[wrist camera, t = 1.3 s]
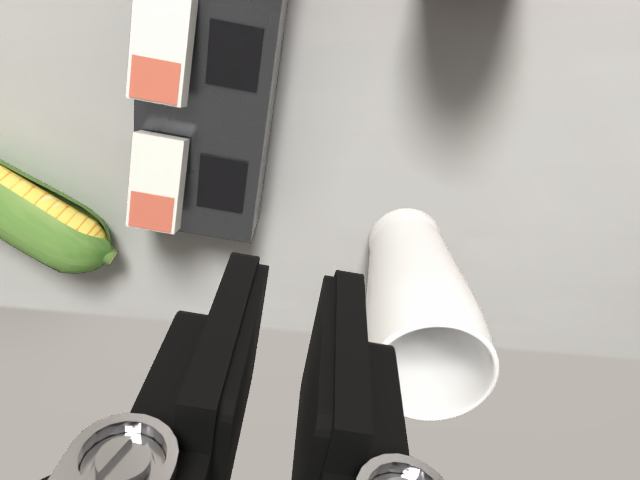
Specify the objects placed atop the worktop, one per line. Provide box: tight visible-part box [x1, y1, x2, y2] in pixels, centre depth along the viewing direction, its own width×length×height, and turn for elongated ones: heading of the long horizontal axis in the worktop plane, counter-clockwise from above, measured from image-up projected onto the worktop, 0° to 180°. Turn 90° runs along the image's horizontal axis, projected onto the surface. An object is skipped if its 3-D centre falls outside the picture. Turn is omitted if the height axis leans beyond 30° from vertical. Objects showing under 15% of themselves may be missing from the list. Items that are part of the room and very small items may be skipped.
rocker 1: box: [126, 0, 198, 108], centre depth 29 cm, size 3×6×2 cm, turn 170°
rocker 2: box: [126, 130, 190, 234], centre depth 33 cm, size 3×6×2 cm, turn 170°
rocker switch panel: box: [134, 0, 288, 243], centre depth 32 cm, size 8×24×4 cm, turn 170°
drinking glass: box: [366, 208, 499, 421], centre depth 33 cm, size 7×7×15 cm
